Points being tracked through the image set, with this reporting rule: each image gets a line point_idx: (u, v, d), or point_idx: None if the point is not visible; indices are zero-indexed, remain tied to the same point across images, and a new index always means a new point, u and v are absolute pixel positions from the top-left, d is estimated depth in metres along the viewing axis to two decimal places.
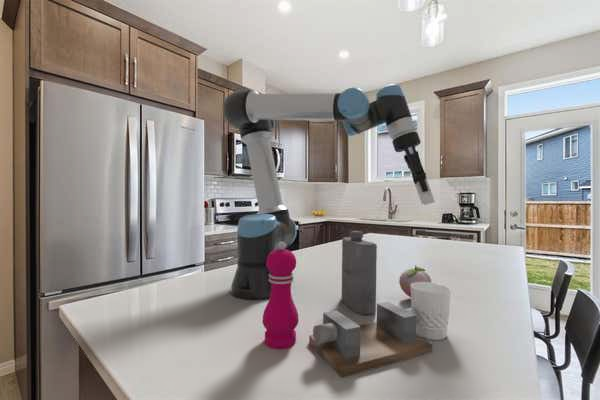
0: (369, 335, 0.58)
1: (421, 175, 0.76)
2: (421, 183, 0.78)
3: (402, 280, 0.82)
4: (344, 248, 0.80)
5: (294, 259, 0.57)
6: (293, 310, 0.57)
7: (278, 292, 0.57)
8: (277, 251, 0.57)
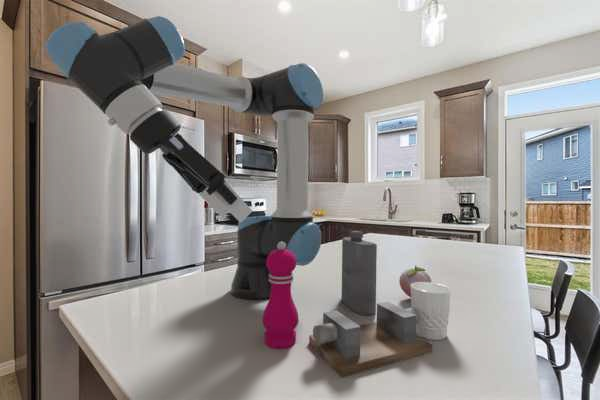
0: (369, 335, 0.58)
1: None
2: None
3: (402, 280, 0.82)
4: (344, 248, 0.80)
5: (294, 259, 0.57)
6: (293, 310, 0.57)
7: (278, 292, 0.57)
8: (277, 251, 0.57)
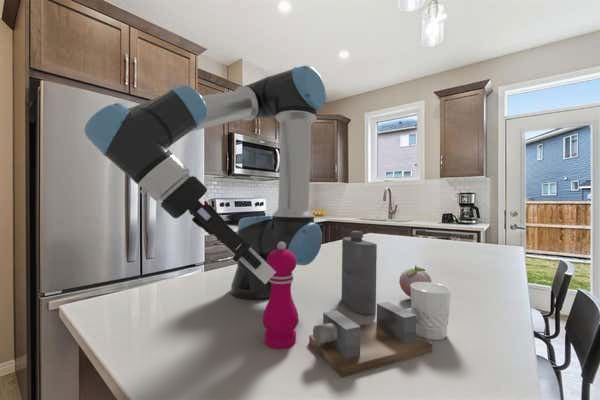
0: (369, 335, 0.58)
1: None
2: None
3: (402, 280, 0.82)
4: (344, 248, 0.80)
5: (294, 259, 0.57)
6: (293, 310, 0.57)
7: (278, 292, 0.57)
8: (277, 251, 0.57)
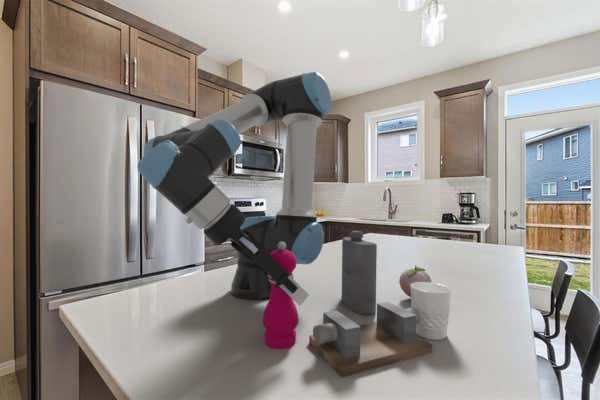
0: (369, 335, 0.58)
1: None
2: None
3: (402, 280, 0.82)
4: (344, 248, 0.80)
5: (294, 259, 0.57)
6: (293, 310, 0.57)
7: (279, 292, 0.56)
8: (277, 251, 0.57)
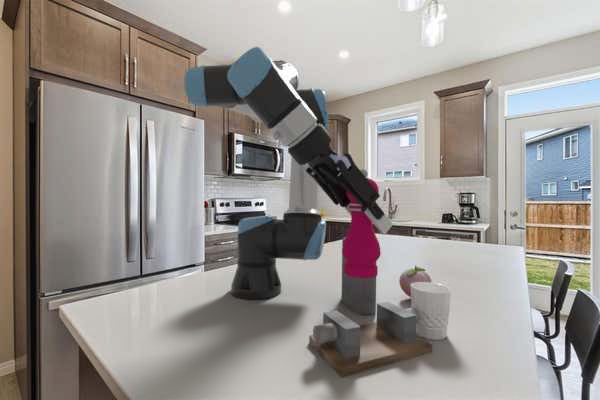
0: (369, 335, 0.58)
1: None
2: None
3: (402, 280, 0.82)
4: None
5: (377, 187, 0.54)
6: (377, 240, 0.54)
7: (362, 220, 0.54)
8: None
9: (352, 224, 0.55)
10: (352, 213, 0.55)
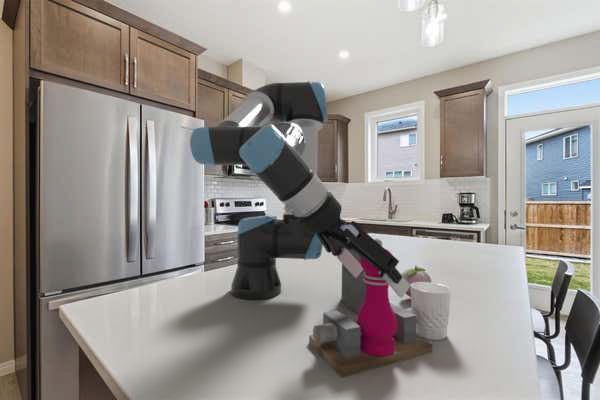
0: None
1: None
2: None
3: None
4: None
5: None
6: (393, 314, 0.52)
7: (378, 294, 0.51)
8: None
9: (367, 297, 0.52)
10: (367, 285, 0.53)
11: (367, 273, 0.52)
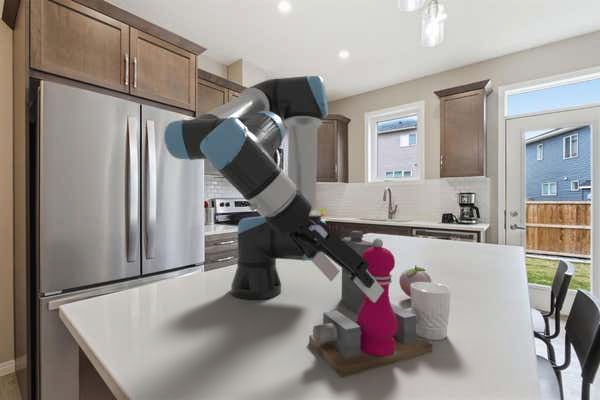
0: None
1: None
2: None
3: (402, 280, 0.82)
4: None
5: (393, 257, 0.52)
6: (393, 313, 0.52)
7: None
8: (375, 249, 0.52)
9: None
10: None
11: None
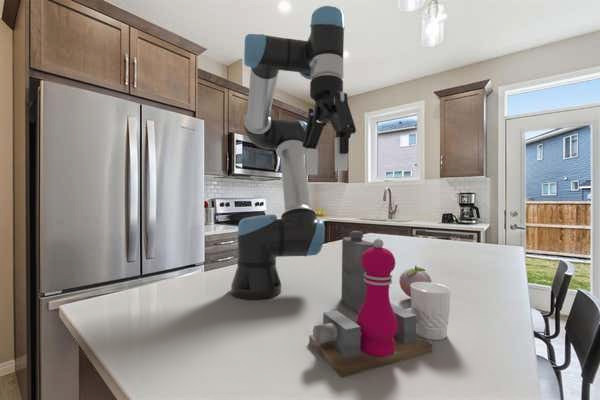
0: None
1: None
2: None
3: (402, 280, 0.82)
4: (344, 248, 0.80)
5: (394, 258, 0.52)
6: (394, 314, 0.52)
7: (378, 294, 0.51)
8: (375, 249, 0.52)
9: (368, 297, 0.52)
10: (368, 285, 0.53)
11: (368, 273, 0.52)
